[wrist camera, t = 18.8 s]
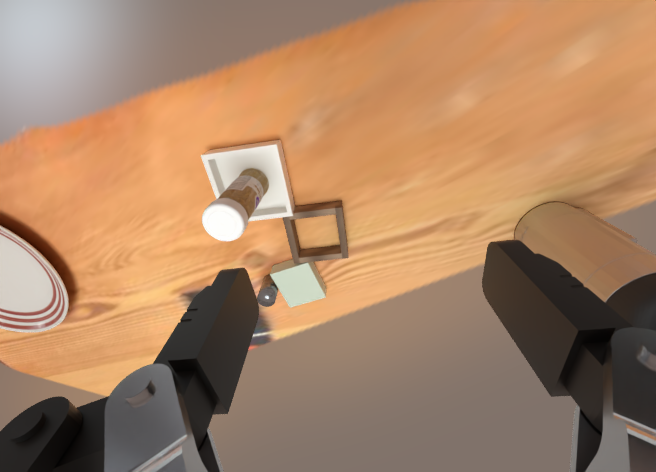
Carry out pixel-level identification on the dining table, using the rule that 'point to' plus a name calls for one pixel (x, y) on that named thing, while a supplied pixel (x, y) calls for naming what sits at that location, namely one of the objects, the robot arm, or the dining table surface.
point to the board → (298, 282)
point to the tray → (259, 156)
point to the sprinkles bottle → (235, 206)
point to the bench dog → (267, 292)
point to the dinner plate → (28, 287)
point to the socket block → (321, 252)
